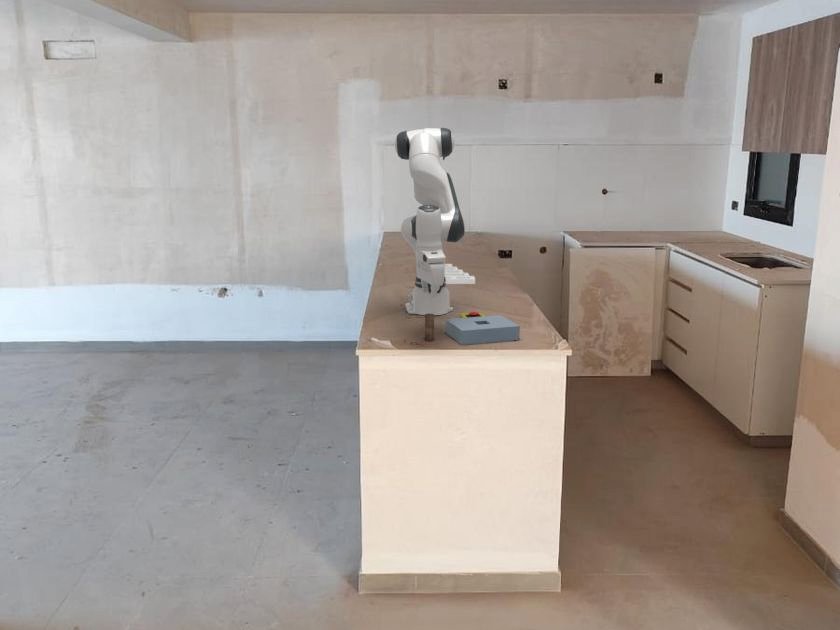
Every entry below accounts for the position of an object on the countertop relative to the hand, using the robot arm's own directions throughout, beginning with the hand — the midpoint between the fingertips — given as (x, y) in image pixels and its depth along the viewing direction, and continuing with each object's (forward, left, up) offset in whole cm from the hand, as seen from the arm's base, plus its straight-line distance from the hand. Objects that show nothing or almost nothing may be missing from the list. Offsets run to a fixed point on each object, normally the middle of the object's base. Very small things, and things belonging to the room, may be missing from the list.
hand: (429, 294), depth 250 cm
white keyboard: (-115, +49, -17) cm, 126 cm away
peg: (0, 0, -16) cm, 16 cm away
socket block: (+1, +19, -16) cm, 25 cm away
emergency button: (-17, +23, -17) cm, 33 cm away
